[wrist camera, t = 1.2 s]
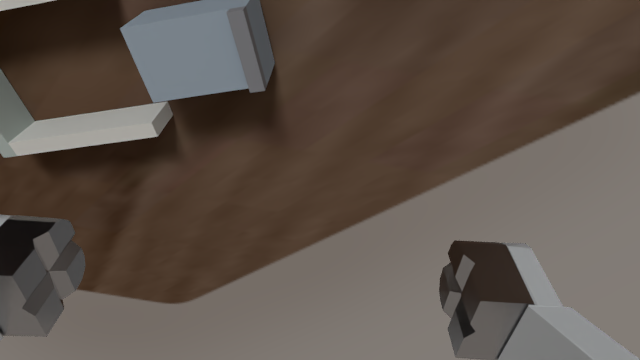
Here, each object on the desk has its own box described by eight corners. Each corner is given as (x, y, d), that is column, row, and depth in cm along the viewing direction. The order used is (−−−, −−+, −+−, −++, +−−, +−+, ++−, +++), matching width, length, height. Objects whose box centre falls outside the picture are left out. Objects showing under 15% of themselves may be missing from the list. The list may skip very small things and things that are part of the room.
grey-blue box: (258, -13, 28) (243, 9, 23) (276, 59, 31) (265, 90, 26) (149, 7, 29) (114, 32, 25) (176, 74, 32) (148, 107, 27)
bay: (107, -39, 27) (80, -28, 24) (173, 114, 34) (158, 136, 31) (-64, -4, 29) (-107, 9, 26) (30, 135, 36) (4, 157, 33)
